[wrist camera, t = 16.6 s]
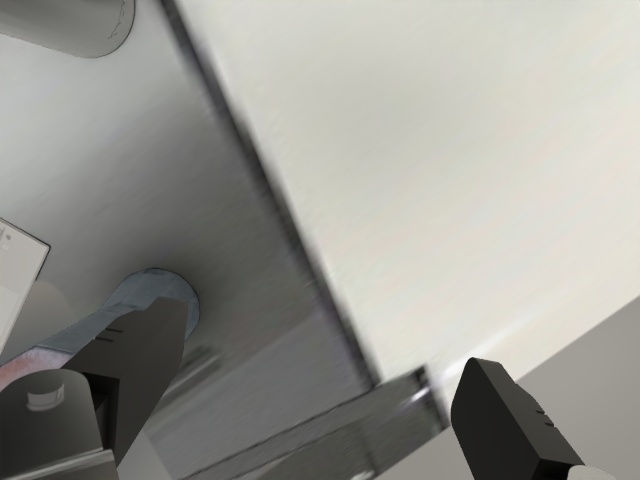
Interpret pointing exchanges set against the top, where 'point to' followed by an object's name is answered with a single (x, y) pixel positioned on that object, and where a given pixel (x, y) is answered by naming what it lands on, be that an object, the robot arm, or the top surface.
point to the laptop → (16, 273)
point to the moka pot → (103, 322)
